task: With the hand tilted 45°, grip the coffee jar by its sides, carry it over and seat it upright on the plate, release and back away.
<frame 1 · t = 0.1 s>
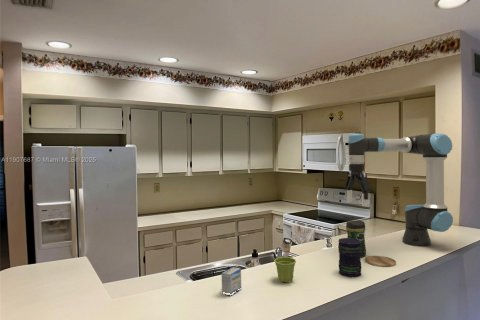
hand: (357, 204, 168), 28 cm above the counter, tool pointing down, fingers open, 13 cm apart
storage jar: (349, 273, 146), on the counter
coffee jar: (356, 255, 172), on the counter
plate: (380, 262, 160), on the counter
medicine box: (231, 292, 128), on the counter
plant pot: (285, 280, 139), on the counter
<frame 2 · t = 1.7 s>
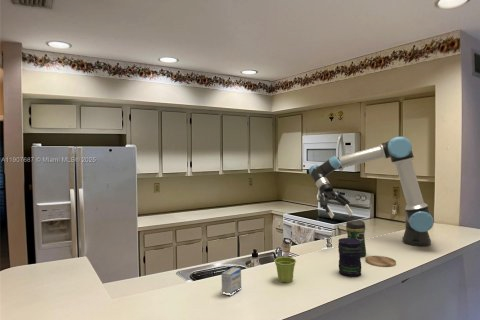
hand: (342, 215, 181), 20 cm above the counter, tool tilted 45°, fingers open, 13 cm apart
nothing on the counter moved.
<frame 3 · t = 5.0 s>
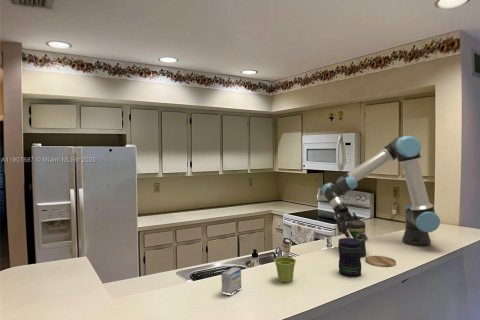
hand: (360, 241, 169), 8 cm above the counter, tool tilted 45°, fingers closed on coffee jar, 9 cm apart
coffee jar: (356, 255, 172), on the counter, touching gripper
everything else where it was.
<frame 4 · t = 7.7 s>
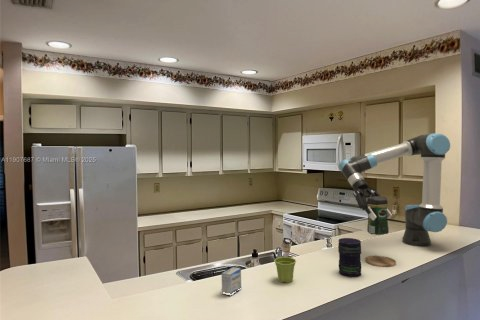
hand: (382, 217, 158), 23 cm above the counter, tool tilted 45°, fingers closed on coffee jar, 9 cm apart
coffee jar: (377, 233, 161), point 14 cm above the counter, touching gripper
everything else where it was.
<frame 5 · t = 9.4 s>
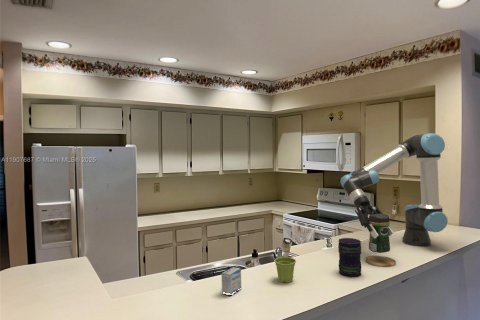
hand: (384, 235, 157), 14 cm above the counter, tool tilted 45°, fingers closed on coffee jar, 9 cm apart
coffee jar: (379, 251, 160), point 5 cm above the counter, touching gripper
everything else where it was.
when the fingers open (11 cm above the counter, at t = 10.6 s): coffee jar drops 1 cm, resting on plate.
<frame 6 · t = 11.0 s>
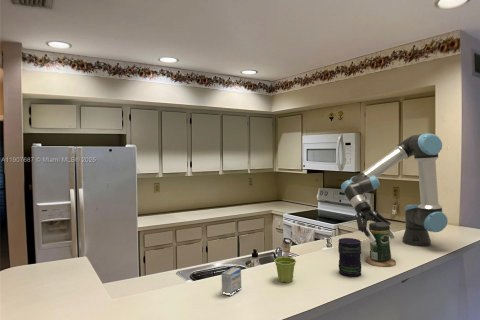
hand: (383, 239, 158), 12 cm above the counter, tool tilted 45°, fingers open, 13 cm apart
coffee jar: (380, 259, 160), point 1 cm above the counter, touching plate
everything else where it was.
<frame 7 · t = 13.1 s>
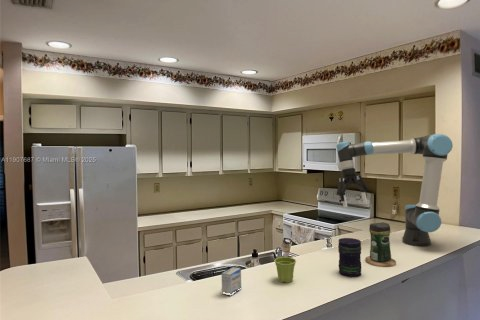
hand: (355, 205, 181), 25 cm above the counter, tool pointing down, fingers open, 13 cm apart
nothing on the counter moved.
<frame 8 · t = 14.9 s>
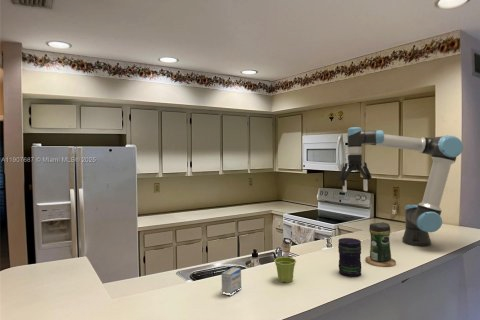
hand: (355, 191, 185), 33 cm above the counter, tool pointing down, fingers open, 13 cm apart
nothing on the counter moved.
at the end: coffee jar 0.2 cm from the plate (horizontally); coffee jar tilted 0°; the gripper is holding nothing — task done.
